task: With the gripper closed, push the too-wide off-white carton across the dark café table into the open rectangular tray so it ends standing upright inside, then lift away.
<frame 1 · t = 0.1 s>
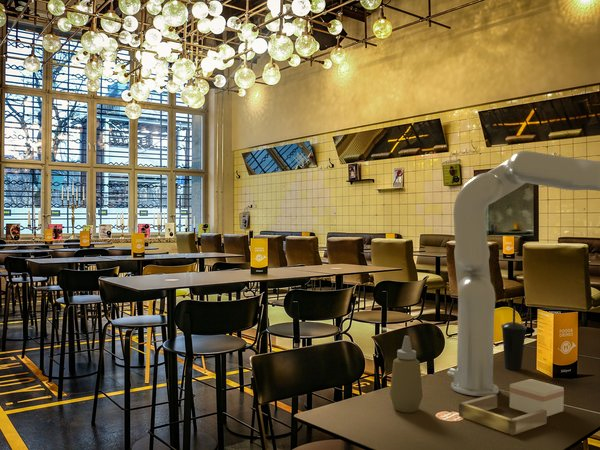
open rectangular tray: (503, 419, 130), on the table
carton: (536, 409, 138), on the table
drinking cup: (513, 369, 177), on the table
squeeze bottle: (405, 410, 136), on the table
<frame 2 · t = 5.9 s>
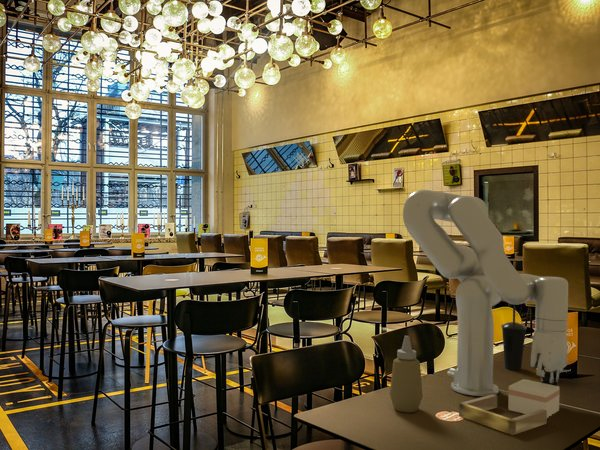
hand: (549, 396, 142), 2 cm above the table, tool pointing down, fingers closed
carton: (533, 410, 137), on the table
everything else where it was.
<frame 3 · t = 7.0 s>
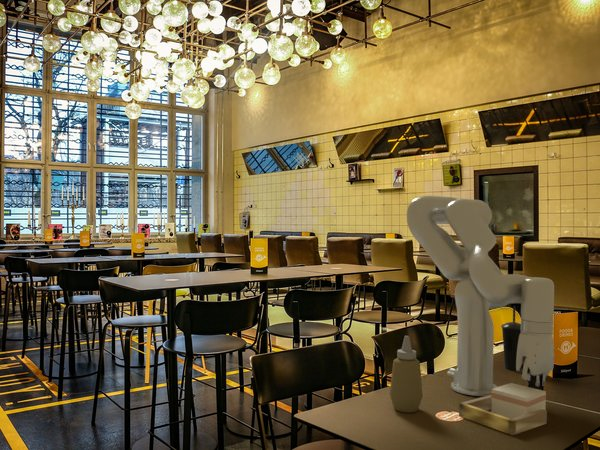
hand: (535, 400, 138), 2 cm above the table, tool pointing down, fingers closed
carton: (518, 414, 134), on the table, touching gripper
everything else where it was.
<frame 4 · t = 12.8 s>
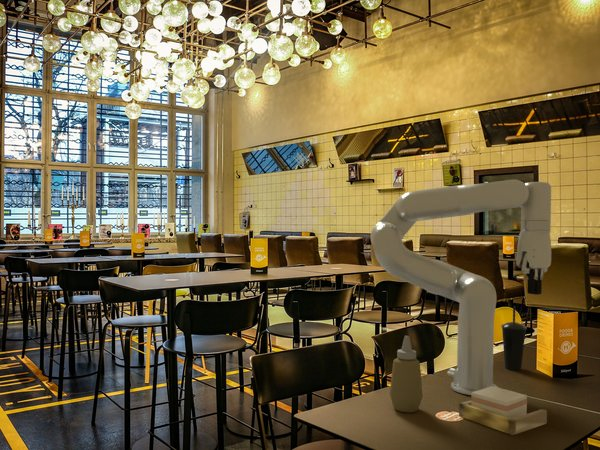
hand: (534, 293, 152), 27 cm above the table, tool pointing down, fingers closed
carton: (498, 419, 131), on the table
everything else where it was.
at the end: carton inside the target area (1.1 cm from its centre), on the table; carton tilted 0° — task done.
